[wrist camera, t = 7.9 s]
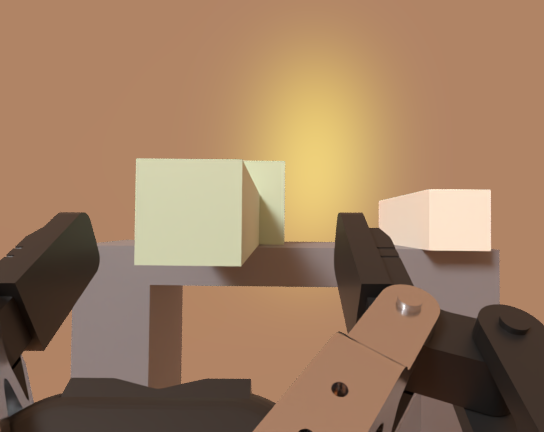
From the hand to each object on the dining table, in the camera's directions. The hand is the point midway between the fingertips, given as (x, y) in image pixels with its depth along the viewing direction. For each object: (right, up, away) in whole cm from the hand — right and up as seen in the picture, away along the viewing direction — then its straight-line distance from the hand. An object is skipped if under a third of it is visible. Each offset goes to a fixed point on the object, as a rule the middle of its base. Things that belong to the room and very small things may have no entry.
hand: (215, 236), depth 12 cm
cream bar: (+11, -1, +11) cm, 15 cm away
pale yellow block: (0, -1, +6) cm, 6 cm away
